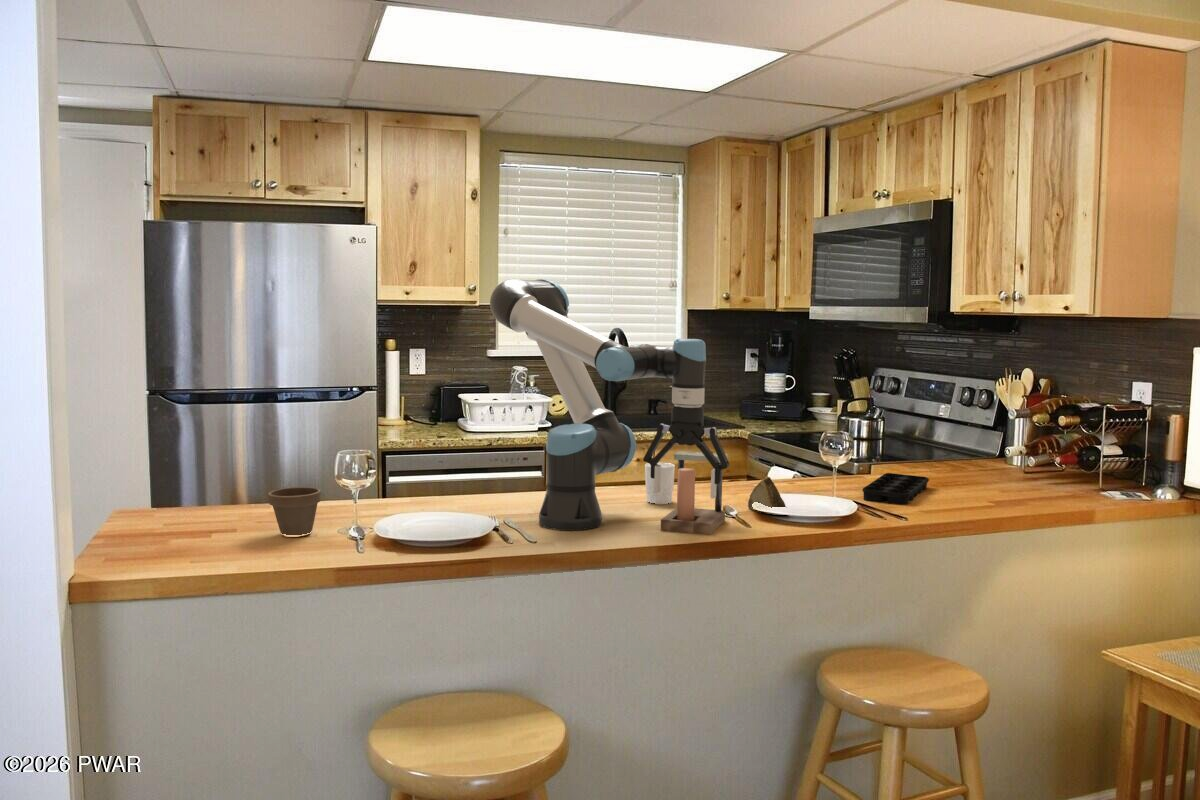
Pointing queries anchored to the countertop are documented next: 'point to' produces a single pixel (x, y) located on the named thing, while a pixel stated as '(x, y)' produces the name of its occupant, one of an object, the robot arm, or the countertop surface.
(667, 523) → the socket board
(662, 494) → the white cup
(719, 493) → the two-post gate frame
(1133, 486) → the countertop surface
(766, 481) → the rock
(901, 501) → the egg carton
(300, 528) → the flower pot
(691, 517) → the peg
